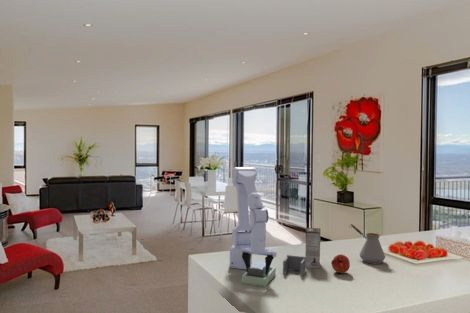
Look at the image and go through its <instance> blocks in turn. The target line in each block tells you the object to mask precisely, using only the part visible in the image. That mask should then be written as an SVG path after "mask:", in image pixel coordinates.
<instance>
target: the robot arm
mask: <svg viewBox="0 0 470 313" xmlns="http://www.w3.org/2000/svg"><path fill="white" fill-rule="evenodd" d="M231 175H232V176H231V178H232V186H233V187H235V188H236V199H237V201H236V202H237V222H238V224H237V225H236V226H235V227H234V228H232V234H231V242H232V246H231V247H230V249H229V266H228V268H232V269H238V270H240V269H241V270H246V272H248V268H250V267H251V266H252V265H253V264H254V263H253V262H252V261H253V259H252V258H253V255H256V256H257V255H258V256H265V258H264V260H265V261H264V262H266V271H265V274H266V275H267V274H268V273H269V268H270V267H271V265H272V262H273V260H274V259H275V258H276V257H277V250H271V249H267V248H266V235H267V232H266V231H267V223H268V222H269V211H268V209H267V208H266V206H264V205H263V204H264V203H263V200H262V198H261V195H260V194H258V193H257V188H256V183H255V182H256V179H257V177H258V176H257V175H258V171H257V169H256V167H255V166H253V167H251V166H249V167H248V166H246V167H245V166H244V167H243V166H241V167H239V166H238V167H237V166H234V168H233V169H232V173H231Z"/></svg>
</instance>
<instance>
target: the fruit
mask: <svg viewBox="0 0 470 313" xmlns="http://www.w3.org/2000/svg"><path fill="white" fill-rule="evenodd" d="M350 266H351V264H350V258H349V257H348V256H347V255H345V254H337V255H335V256H334V257H333V259H332V261H331V267H332V269H333V270H334V271H335V273H339V274H345V273H347V272H348V271H349V270H350Z"/></svg>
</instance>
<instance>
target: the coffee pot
mask: <svg viewBox="0 0 470 313" xmlns="http://www.w3.org/2000/svg"><path fill="white" fill-rule="evenodd" d="M348 227H349V228H350V229H351V228H353V229H354V230H355V231H356V232H357V233H358V234H360V235H361V236H362V237H363V238H365V239H366V240H365V242H364V245H363V246H362V248H361V250H360V252H359V256H360V259H361V260H362V261H363V262H364V263H366V264H371V265H380V264H381V263H382V262H383V261H384V260H385V259H386V255H385V252H384V250H383V248H382V245H381V242H380V240H379V238H380V237H381V234H380V233H374V232H370V233H369V232H367V233H365V234H363V231H361V230H360V229H359V228H357V227H356V226H355V225H353V224H350V225H349V226H348Z"/></svg>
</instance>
